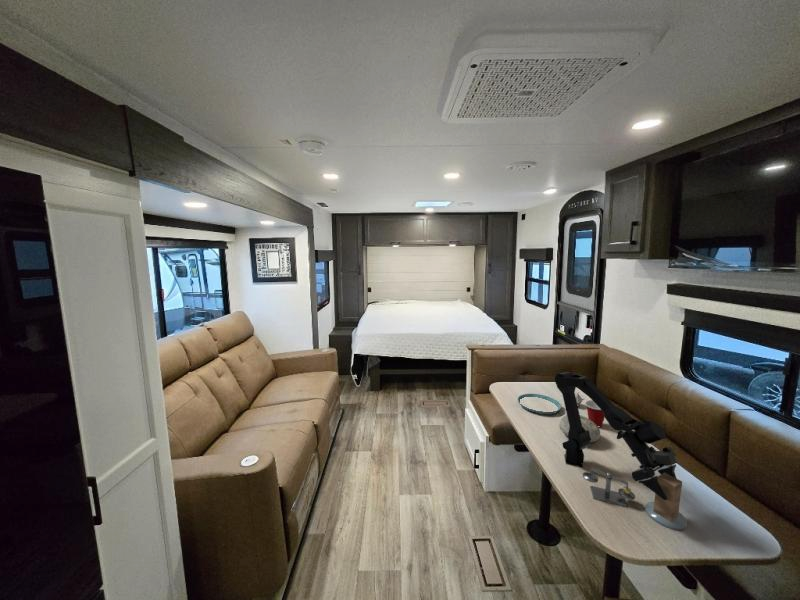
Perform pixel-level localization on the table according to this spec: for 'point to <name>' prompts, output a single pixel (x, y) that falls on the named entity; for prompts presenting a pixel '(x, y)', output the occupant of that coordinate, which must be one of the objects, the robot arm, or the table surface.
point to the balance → (608, 489)
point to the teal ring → (542, 398)
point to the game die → (578, 399)
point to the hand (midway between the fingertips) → (672, 495)
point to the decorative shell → (586, 425)
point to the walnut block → (668, 497)
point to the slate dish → (676, 524)
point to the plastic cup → (594, 413)
